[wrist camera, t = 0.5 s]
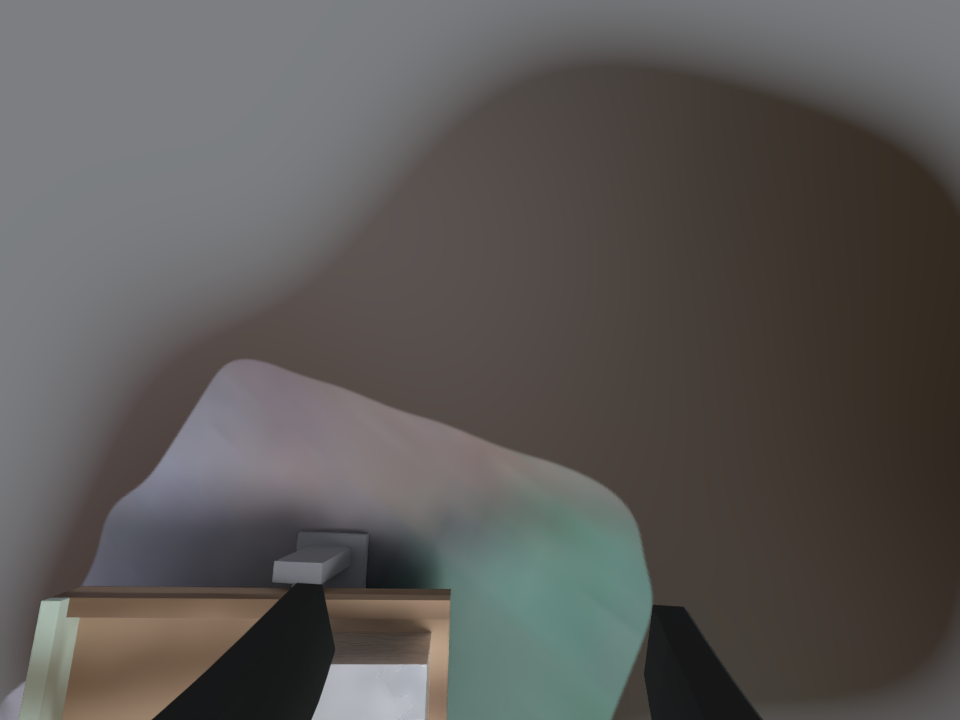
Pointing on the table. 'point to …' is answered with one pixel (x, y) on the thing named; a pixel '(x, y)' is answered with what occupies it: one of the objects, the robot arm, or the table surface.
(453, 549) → the table surface
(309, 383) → the table surface
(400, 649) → the block
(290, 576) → the stand
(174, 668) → the tan wooden tray
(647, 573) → the table surface
